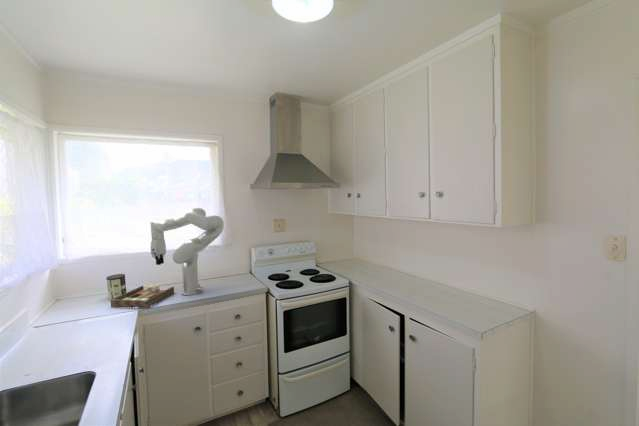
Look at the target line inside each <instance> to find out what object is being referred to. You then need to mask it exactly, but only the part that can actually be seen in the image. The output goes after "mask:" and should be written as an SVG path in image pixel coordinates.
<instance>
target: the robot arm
mask: <svg viewBox="0 0 639 426" xmlns="http://www.w3.org/2000/svg"><path fill="white" fill-rule="evenodd" d="M188 225H192V226H193V225H194V226H195V227H197V228H199V229H201V230H202V231H203V232H202V233H201V234H199V236H197V237H195V238H191V239H188V240H186V241H185V242H183V244H181V245H180V246H179V247H178V248H176V249H175V250H174V252H173V253H172V261H173V263H176V264H177V265H181V264H182V266H181V268H182V269H181V272H182V285H183V287H182V288H183V289H182V290H181V292H180V293H181V295H182V296H192V295H196V294H199V293H200V292H202V291H203V290H204V286H201V284H199V272H198V257H199V256H198V255H199V253H200V252H202V251H204V250H205V249H206V248H208V246H209V245H211V244H212V243H213V242H214V241H215V240H216V239H217V238H218V237H219V236H220V235H221V234H222V232H223V230H224V228H225V227H224V226H225V223H224V220H223V218H222V217H221V216H219V215H210V216H209V215H208V216H207V214H206V210H205V209H203V208H200V207H198V208H197V207H196V208H190V209H187V210H186V211H185V212H182V213H180V214H179V216H177V217H173V218H169V219H153V220H151V221H150V233H151V242H150V255H151V257H152V258H154V259H155V265H157V266H161V265H162V264H164V262H165V261H164V257H165V255H166V253H167V246H166V241H165V240H166V239H165V232H168V231H171V230H177V229H179V228H182V227H187V226H188Z"/></svg>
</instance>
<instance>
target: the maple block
mask: <svg viewBox="0 0 639 426" xmlns="http://www.w3.org/2000/svg"><path fill="white" fill-rule="evenodd" d="M146 290H147V291H148V293H156V292H158V291H160V290H161V289H160V284H151V285H150V286H147V289H146Z"/></svg>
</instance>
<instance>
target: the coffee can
mask: <svg viewBox="0 0 639 426" xmlns="http://www.w3.org/2000/svg"><path fill="white" fill-rule="evenodd" d="M105 280H106V285H107V286H106V287H107V295H108V298H107V299H108V300H112V299H114V298H116V297H118V296H120V295H123V294H125V293H127V292H128V291H127V283H126V274H124V273H117V274H111V275H109V276H106V278H105Z"/></svg>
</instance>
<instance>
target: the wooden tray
mask: <svg viewBox="0 0 639 426" xmlns="http://www.w3.org/2000/svg"><path fill="white" fill-rule="evenodd" d="M126 292H127V293H125V294H123V295H120V296H118V297H116V298H114V299H112V300H111V299H109V300H110V301H109V303H110V307H111V308H118V307H126V308H127V307H129V308H127V309H134V308H133V307H138V308H137V309H143V308H147V307H149V306H151V305H153V304H154V305H156V304H158V303H159V301H160V302H161V301H163V300H165V299H167V298H168V297H170V296H172V295H174V294H175V287H174V286H171V287H169V288H168V289H160V291H158V292H156V293H148V291H147V289H145V288H144V285H141V286H138V287H137V288H134V289H131V290H129V291H126ZM157 302H158V303H157ZM155 303H156V304H155ZM154 305H153V306H154ZM130 307H131V308H130ZM151 307H152V306H151ZM126 308H125V309H126ZM149 308H150V307H149ZM147 309H148V308H147Z"/></svg>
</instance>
